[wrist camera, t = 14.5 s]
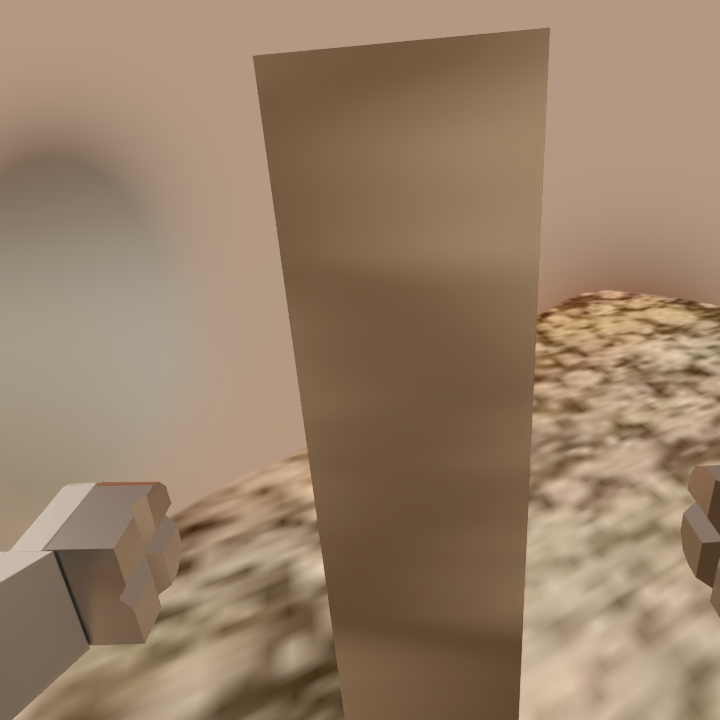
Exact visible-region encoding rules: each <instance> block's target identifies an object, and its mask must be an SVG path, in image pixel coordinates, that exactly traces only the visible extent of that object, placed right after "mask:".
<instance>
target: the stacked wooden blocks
mask: <svg viewBox="0 0 720 720" xmlns="http://www.w3.org/2000/svg"><path fill="white" fill-rule="evenodd" d="M549 34H550V28H541V29H531V30H520V31H510V32H499V33H489V34H478V35H467V36H457V37H447V38H436V39H425V40H415V41H404V42H393V43H383V44H373V45H362V46H351V47H342V48H331V49H321V50H309V51H298V52H288V53H277V54H267V55H256V56H253V60H254V67H255V75H256V82H257V89H258V96H259V103H260V110H261V117H262V125H263V132H264V139H265V146H266V153H267V161H268V168H269V175H270V182H271V190H272V197H273V204H274V211H275V218H276V226H277V233H278V240H279V247H280V254H281V261H282V269H283V276H284V283H285V290H286V298H287V305H288V312H289V319H290V326H291V334H292V341H293V348H294V355H295V362H296V369H297V377H298V384H299V391H300V398H301V406H302V413H303V420H304V427H305V434H306V441H307V449H308V456H309V463H310V470H311V478H312V485H313V492H314V499H315V506H316V514H317V521H318V528H319V535H320V542H321V550H322V557H323V564H324V571H325V578H326V586H327V593H328V600H329V607H330V614H331V622H332V629H333V636H334V643H335V650H336V658H337V665H338V672H339V679H340V686H341V694H342V701H343V708H344V715H345V720H519V699H520V676H521V654H522V632H523V610H524V588H525V566H526V544H527V522H528V500H529V478H530V456H531V433H532V411H533V389H534V367H535V345H536V323H537V301H538V279H539V257H540V234H541V213H542V190H543V168H544V145H545V123H546V102H547V80H548V57H549Z"/></svg>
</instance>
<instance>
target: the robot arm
mask: <svg viewBox="0 0 720 720" xmlns="http://www.w3.org/2000/svg"><path fill="white" fill-rule="evenodd" d="M688 490H689V492H690V493H691V495H692V496H693V498H694V499H695V501H696V502H695V503H694V504H692V505H691V506H690V507H689V508H688V509H687V510H686V511H685V512H684V513H683V519H682V527H681V537H682V545H683V551H684V554H685V557H686V559H687V562H688V565H689V566H690V568H691V570H692V572H693V573H694V575H695V577H696V578H698V579H699V580H701V581H702V582H704V583H705V584H707V585H709V586H710V587H712V588H713V590H712V595H711V600H710V602H711V604H712V605H713V607H714V609H715V610H716V612H717V614H718V615H719V617H720V465H713V466H695V468H694V470H693V471H692V473H691V475H690V479H689V485H688ZM170 504H171V501H170V499H169V495H168V492H167V488H166V486H164V485H163V484H162V483H160V482H102V483H72V484H69V485H67V486H64V487H63V488H62V490H61V491H60V492H59V493H58V494H57V495H56V497H55V498H54V499H53V500H52V501H51V503H50V504H49V505H48V506H47V507H46V509H45V510H44V511H43V512H42V513H41V515H40V516H39V517H38V518H37V519H36V520H35V522H34V523H33V524H32V525H31V526H30V528H29V529H28V530H27V531H26V532H25V533H24V535H23V536H22V537H21V538H20V539H19V541H18V542H17V543H16V544H15V546H14V547H13V548H12V549H11V550H10V551H9V552H0V720H12V719H13V718H14V717H16V716H17V715H18V714H19V713H20V712H21V711H22V710H23V709H24V708H25V707H26V706H28V705H29V704H30V703H31V702H32V701H33V700H34V699H35V698H36V697H37V696H38V695H40V694H41V693H42V692H43V691H44V690H45V689H46V688H47V687H48V686H49V685H51V684H52V683H53V682H54V681H55V680H56V679H57V678H58V677H59V676H60V675H61V674H63V673H64V672H65V671H66V670H67V669H68V668H69V667H70V666H71V665H72V664H73V663H75V662H76V661H77V660H78V659H79V658H80V657H81V656H82V655H83V654H84V653H85V652H87V651H88V650H89V649H90V647H89V645H117V644H145V642H146V640H147V638H148V635H149V633H150V631H151V629H152V627H153V625H154V622H155V620H156V618H157V616H158V614H159V612H160V609H161V604H160V601H159V597H158V595H159V594H161V593H162V592H163V591H164V590H166V589H167V588H168V587H170V586H171V585H172V583H173V581H174V578H175V576H176V574H177V571H178V567H179V561H180V555H181V545H180V536H179V532H178V528H177V525H176V524H175V523H174V522H173V521H171V520H170V519H169V518H168V517H167V516H166V515H165V514H166V512H167V510H168V508H169V506H170Z"/></svg>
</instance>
